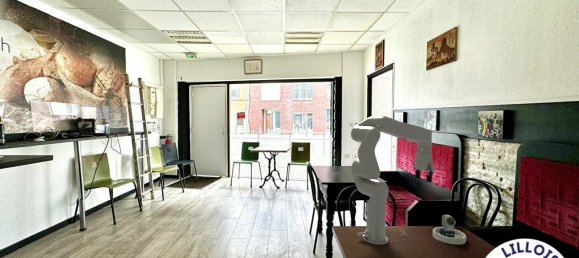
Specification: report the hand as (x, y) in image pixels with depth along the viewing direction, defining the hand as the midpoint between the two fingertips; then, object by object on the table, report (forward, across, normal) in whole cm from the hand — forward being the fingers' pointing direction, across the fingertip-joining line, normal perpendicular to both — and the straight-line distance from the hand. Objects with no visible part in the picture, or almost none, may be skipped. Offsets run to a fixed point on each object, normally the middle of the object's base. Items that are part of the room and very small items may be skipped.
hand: (423, 179), depth 160 cm
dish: (+28, +15, +5) cm, 32 cm away
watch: (+28, +14, +5) cm, 31 cm away
